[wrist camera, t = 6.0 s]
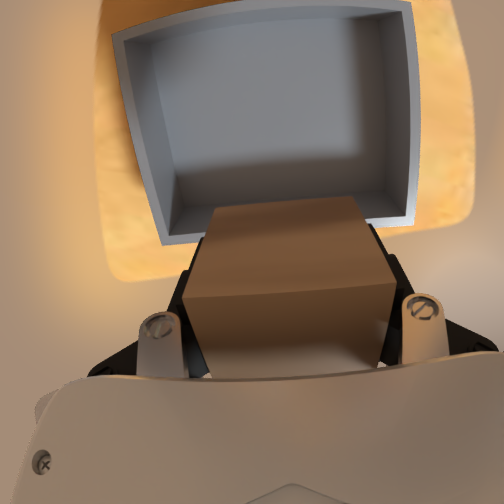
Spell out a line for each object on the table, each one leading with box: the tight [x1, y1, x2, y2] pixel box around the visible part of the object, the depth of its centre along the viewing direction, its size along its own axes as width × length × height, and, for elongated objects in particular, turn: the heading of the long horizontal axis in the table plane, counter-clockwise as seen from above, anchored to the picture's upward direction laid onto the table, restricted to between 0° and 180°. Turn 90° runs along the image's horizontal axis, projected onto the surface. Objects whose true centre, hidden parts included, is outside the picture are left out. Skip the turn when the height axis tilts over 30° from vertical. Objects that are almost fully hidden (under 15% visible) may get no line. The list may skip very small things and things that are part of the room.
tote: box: [112, 0, 421, 246], centre depth 20 cm, size 17×20×6 cm
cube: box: [182, 196, 397, 378], centre depth 10 cm, size 5×5×5 cm
